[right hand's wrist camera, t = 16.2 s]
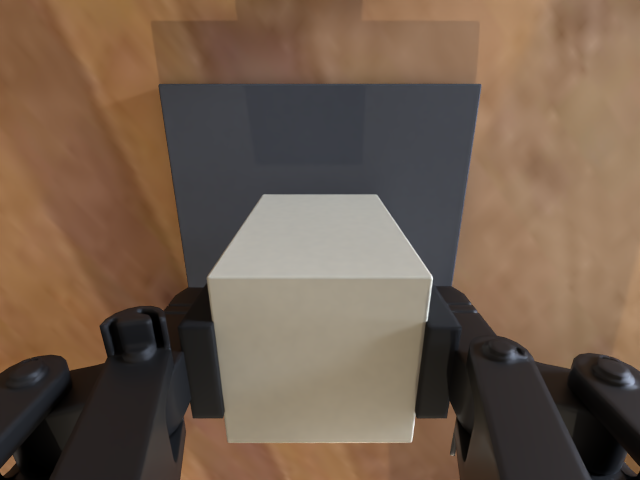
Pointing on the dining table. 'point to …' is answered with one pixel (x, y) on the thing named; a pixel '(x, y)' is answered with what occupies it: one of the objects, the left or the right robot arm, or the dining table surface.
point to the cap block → (319, 322)
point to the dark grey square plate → (320, 157)
